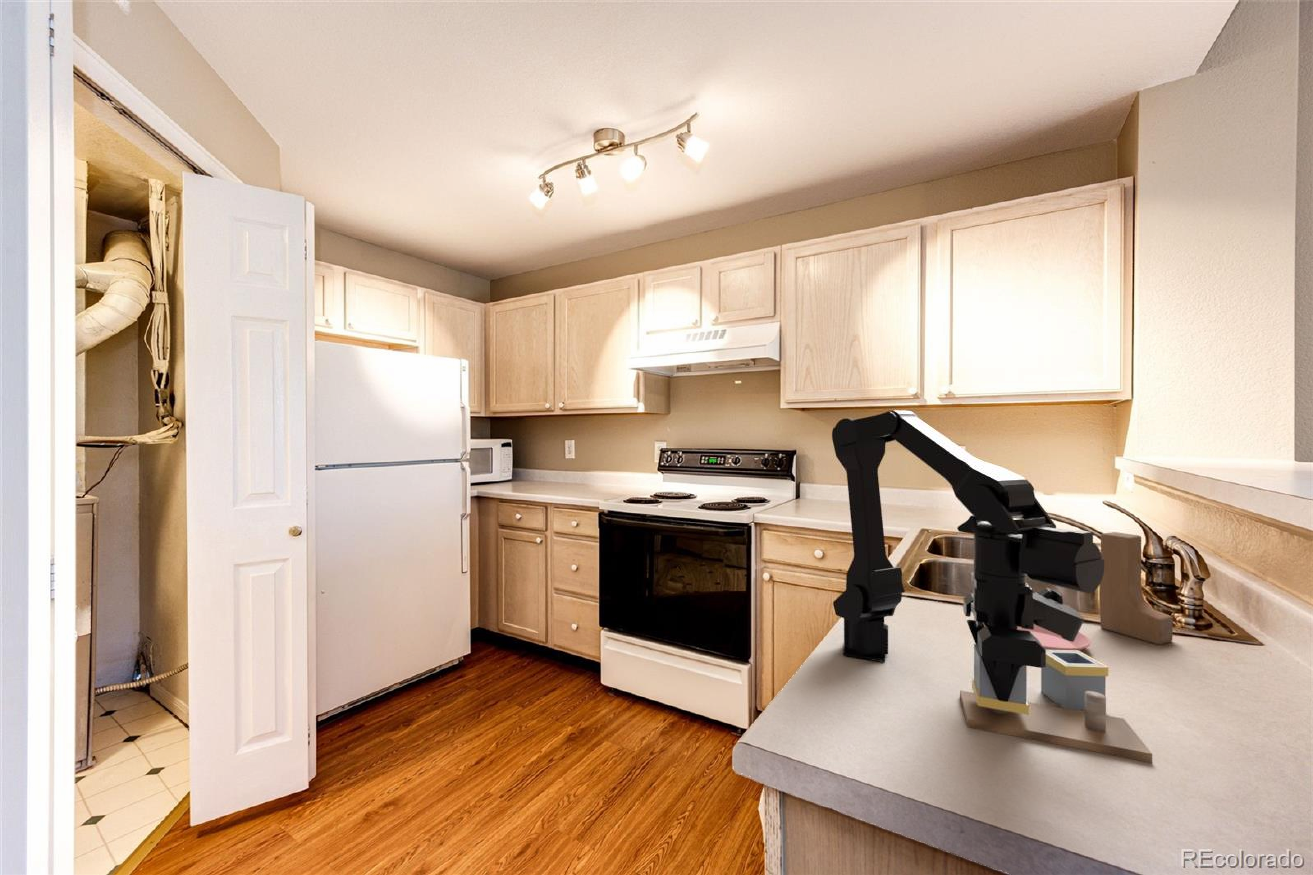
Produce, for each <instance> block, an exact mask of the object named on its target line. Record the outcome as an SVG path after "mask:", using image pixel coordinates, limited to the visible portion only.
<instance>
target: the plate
mask: <svg viewBox="0 0 1313 875" xmlns="http://www.w3.org/2000/svg"><path fill="white" fill-rule="evenodd" d="M1017 628H1018V629H1019V630H1024V631H1030V632H1031V633H1032V634H1033V635H1034V636H1035V637H1036V638H1037V639H1038V640H1039V642H1040V643H1041V644H1042V646H1043V647H1044V649H1045V650H1078V651H1080V652H1082V650H1084V649H1086V648H1088V647H1089V646H1090V645H1091V639H1090V638H1089V637H1087V635H1085V634H1083V633H1082V632H1078V634H1077V636H1076V638H1075V640H1074V642H1071V641H1068V640H1066V639H1063V638H1062V637H1061V636H1060V635H1058V634H1056V633H1053V632H1051V631H1048V630H1046V629H1044V628H1041V627H1039V626H1037V625H1035V624H1034V630H1032V629H1024V628H1021V627H1017Z"/></svg>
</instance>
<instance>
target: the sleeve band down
mask: <svg viewBox="0 0 1313 875" xmlns="http://www.w3.org/2000/svg"><path fill="white" fill-rule="evenodd" d="M1027 667H1028V666H1025V665H1024V666H1022V667H1021V668H1020V670H1019V672H1018V675H1017V677H1016V680H1015V683H1014V686H1013V689H1012V691H1011V694H1010V697H1009V700H1008V701H1007V702H1004V701H999V700H998V699H997V697H996V694H995V692H994V689H993V687H992V684H991V682H990V679H989V676H988V674H987V672H986V669H985V667H984V664H983V662H982V659H981V657H980V654H979V651H978V649H977V646H976V644H975V643H974V644H973V678H971V688H972V691H973V692H972V693H974V695H975V698H976V701H977V705H978V706H982V707H988V708H993V709H999V710H1004V711H1010V712H1015V713H1021V714H1026V715H1029V705H1028V703H1027V702H1028V701H1027V683H1028V682H1027V680H1028V679H1027V676H1028V675H1027V673H1028V672H1027V670H1028V668H1027Z"/></svg>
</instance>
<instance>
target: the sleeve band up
mask: <svg viewBox="0 0 1313 875" xmlns="http://www.w3.org/2000/svg"><path fill="white" fill-rule="evenodd" d="M1040 670H1041V672H1040V674H1041V675H1040V682H1041V683H1040V692H1041V693H1042V694H1043V695H1045V696H1046V697H1047V698H1049V699H1050V700H1051V701H1053V703H1055V704H1057V705H1058V707H1060V708H1065V709H1071V710H1077V711H1083V712H1085V692H1086V691H1093V692H1097V693H1100V694H1102V695H1104V696H1105V697H1106V685H1107V684H1106V682H1107V681H1106V677H1109V666H1106V665H1105V664H1103V663H1101V662H1100V661H1098V660H1097V659H1094V658H1093V657H1091V656H1089V655H1087V654H1086V653H1084V652H1082V651H1078V650H1046V667H1043V668H1040Z"/></svg>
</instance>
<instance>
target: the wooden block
mask: <svg viewBox="0 0 1313 875" xmlns="http://www.w3.org/2000/svg"><path fill="white" fill-rule="evenodd" d="M1100 552H1101V556H1102V559H1104V574H1103V578H1102V581H1101V583H1100V606H1099V607H1100V608H1099V609H1100V623H1099V624H1100V626H1099V627H1100V628H1101V629H1103V630H1106V631H1110V632H1114V633H1117V634H1120V635H1124V636H1127V637H1131V638H1134V639H1138V640H1141V641H1144V642H1148V643H1151V644H1154V645H1158V646H1159V645H1160V646H1161V645H1164V644H1166V643H1171V642H1172V641H1173V634H1174V633H1173V631H1174V630H1173V626H1174V625H1173V620H1174V618H1173V616H1171V615H1169V614H1168V613H1167V614H1166V613H1164V612H1162V611H1159V610H1156V609H1155V608H1153V607H1152V606H1151V605H1150V604H1149V603H1148V602H1147V601H1146V600H1145V598H1144V593H1143V591H1142V536H1140V535H1138V534H1130V533H1125V532H1123V533H1122V532H1118V531H1116V532H1115V531H1114V532H1113V531H1112V532H1105V533H1101V534H1100Z"/></svg>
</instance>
